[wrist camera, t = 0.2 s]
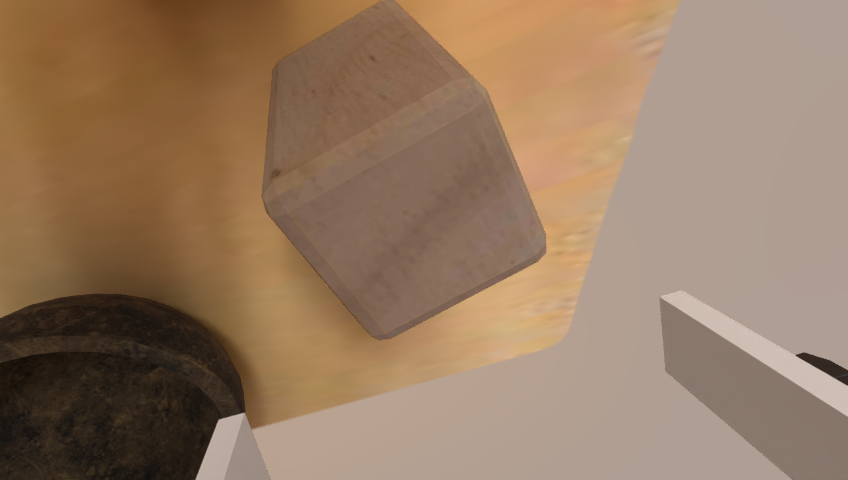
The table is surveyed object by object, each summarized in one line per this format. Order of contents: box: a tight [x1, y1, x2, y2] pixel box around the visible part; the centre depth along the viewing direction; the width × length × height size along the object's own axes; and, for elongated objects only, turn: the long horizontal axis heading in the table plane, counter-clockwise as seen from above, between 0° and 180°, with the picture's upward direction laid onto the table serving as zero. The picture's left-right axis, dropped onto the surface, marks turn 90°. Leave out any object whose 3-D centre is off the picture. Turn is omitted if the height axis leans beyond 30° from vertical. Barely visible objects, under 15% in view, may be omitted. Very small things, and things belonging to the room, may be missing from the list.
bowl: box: [0, 294, 246, 480], centre depth 42 cm, size 22×22×10 cm
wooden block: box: [262, 0, 546, 340], centre depth 30 cm, size 10×10×20 cm
